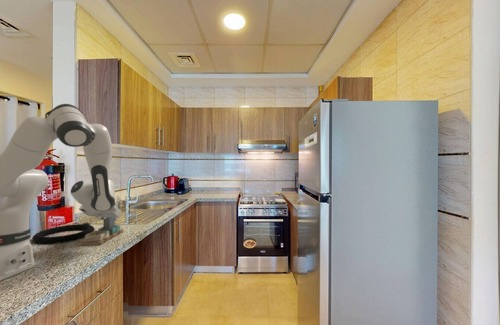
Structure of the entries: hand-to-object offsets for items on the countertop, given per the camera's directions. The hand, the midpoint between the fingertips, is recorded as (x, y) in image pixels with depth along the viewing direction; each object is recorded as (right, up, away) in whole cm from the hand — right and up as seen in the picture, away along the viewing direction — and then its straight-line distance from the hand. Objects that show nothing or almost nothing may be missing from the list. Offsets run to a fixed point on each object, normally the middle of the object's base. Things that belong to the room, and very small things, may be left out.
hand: (110, 219), depth 135 cm
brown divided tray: (0, -9, -6) cm, 11 cm away
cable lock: (-24, -10, -1) cm, 26 cm away
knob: (0, -7, -1) cm, 7 cm away
